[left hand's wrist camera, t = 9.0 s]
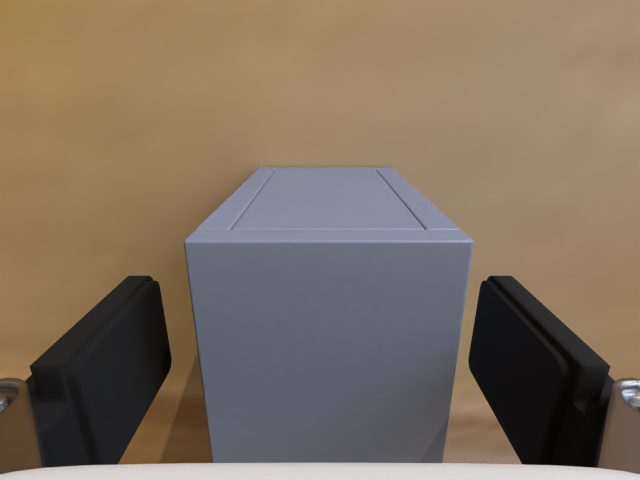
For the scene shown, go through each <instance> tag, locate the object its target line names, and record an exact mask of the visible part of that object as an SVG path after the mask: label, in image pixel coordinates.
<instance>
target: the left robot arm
mask: <svg viewBox="0 0 640 480" xmlns="http://www.w3.org/2000/svg"><path fill="white" fill-rule="evenodd" d="M170 368H171V353H170V347H169V341H168V335H167V329H166V322H165V316H164V310H163V304H162V298H161V292H160V286H159V283H158V282H157V281H153V279H152V277H150V276H128V277H127V278H126V279H124V280H123V281H122V282H121V283H120V284H119V285H118V286H117V287H116V288H115V289H114V290H112V291H111V292H110V293H109V294H108V295H107V296H106V297H105V298H104V299H103V300H102V301H100V302H99V303H98V304H97V305H96V306H95V307H94V308H93V309H92V310H91V311H90V312H88V313H87V314H86V315H85V316H84V317H83V318H82V319H81V320H80V321H79V322H78V323H76V324H75V325H74V326H73V327H72V328H71V329H70V330H69V331H68V332H67V333H65V334H64V335H63V336H62V337H61V338H60V339H59V340H58V341H57V342H56V343H55V344H53V345H52V346H51V347H50V348H49V349H48V350H47V351H46V352H45V353H44V354H43V355H41V356H40V357H39V358H38V359H37V360H36V361H35V362H34V363H33V364H32V365H31V366H30V369H31V372H32V375H31V376H30V377H29V378H28V379H27V380H26V381H23V380H21V379H18V378H4V379H0V480H640V379H636V378H622V379H619V380H617V381H614V380H613V379H612V378H611V377H610V376H609V375H608V372H609V369H610V366H609V365H608V364H607V363H606V362H605V361H604V360H603V359H602V358H601V357H600V356H599V355H597V354H596V353H595V352H594V351H593V350H592V349H591V348H590V347H589V346H588V345H587V344H585V343H584V342H583V341H582V340H581V339H580V338H579V337H578V336H577V335H576V334H575V333H573V332H572V331H571V330H570V329H569V328H568V327H567V326H566V325H565V324H564V323H562V322H561V321H560V320H559V319H558V318H557V317H556V316H555V315H554V314H553V313H552V312H550V311H549V310H548V309H547V308H546V307H545V306H544V305H543V304H542V303H541V302H540V301H538V300H537V299H536V298H535V297H534V296H533V295H532V294H531V293H530V292H529V291H528V290H526V289H525V288H524V287H523V286H522V285H521V284H520V283H519V282H518V281H517V280H516V279H514V278H513V277H512V276H490V277H488V279H487V281H483V282H482V283H481V286H480V292H479V298H478V304H477V310H476V316H475V322H474V329H473V335H472V341H471V347H470V353H469V368H470V371H471V373H472V375H473V376H474V378H475V380H476V382H477V384H478V385H479V387H480V389H481V391H482V392H483V394H484V396H485V398H486V400H487V401H488V403H489V405H490V407H491V409H492V410H493V412H494V414H495V416H496V418H497V419H498V421H499V423H500V425H501V427H502V428H503V430H504V432H505V434H506V436H507V437H508V439H509V441H510V443H511V445H512V446H513V448H514V450H515V452H516V454H517V455H518V457H519V459H520V461H521V463H522V464H523V465H516V464H467V463H173V464H124V465H117V464H118V463H119V461H120V459H121V457H122V455H123V454H124V452H125V450H126V448H127V446H128V445H129V443H130V441H131V439H132V437H133V436H134V434H135V432H136V430H137V428H138V427H139V425H140V423H141V421H142V419H143V418H144V416H145V414H146V412H147V410H148V409H149V407H150V405H151V403H152V401H153V400H154V398H155V396H156V394H157V392H158V391H159V389H160V387H161V385H162V384H163V382H164V380H165V378H166V376H167V375H168V373H169V371H170Z"/></svg>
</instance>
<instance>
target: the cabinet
mask: <svg viewBox="0 0 640 480" xmlns="http://www.w3.org/2000/svg"><path fill="white" fill-rule="evenodd" d="M184 248H185V256H186V263H187V271H188V279H189V286H190V294H191V302H192V309H193V317H194V325H195V333H196V340H197V348H198V356H199V363H200V371H201V379H202V386H203V394H204V402H205V409H206V417H207V425H208V432H209V440H210V448H211V456H212V463H442V461H443V454H444V447H445V440H446V433H447V425H448V418H449V411H450V404H451V397H452V390H453V383H454V376H455V369H456V362H457V355H458V348H459V340H460V333H461V326H462V319H463V312H464V305H465V298H466V291H467V284H468V277H469V270H470V262H471V255H472V248H473V240H472V239H471V238H469V237H468V236H467V235H466V234H465V233H464V232H463V231H461V230H460V228H459V227H457V226H456V225H455V224H454V223H453V222H452V221H451V220H450V219H448V218H447V217H446V216H445V215H444V214H443V213H442V212H441V211H439V210H438V209H437V208H436V207H435V206H434V205H433V204H432V203H431V202H429V201H428V200H427V199H426V198H425V197H424V196H423V195H422V194H420V193H419V192H418V191H417V190H416V189H415V188H414V187H413V186H411V185H410V184H409V183H408V182H407V181H406V180H405V179H404V178H403V177H401V176H400V175H399V174H398V173H397V172H396V171H395V170H394V169H393V168H391V167H260V168H258V169H257V170H256V171H255V172H254V173H253V174H252V175H251V176H250V177H249V178H248V179H247V180H246V181H245V182H244V183H243V184H242V185H241V186H240V187H239V188H238V189H237V190H236V191H235V192H234V193H233V194H232V195H230V196H229V197H228V198H227V199H226V200H225V201H224V202H223V203H222V204H221V205H220V206H219V207H218V208H217V209H216V210H215V211H214V212H213V213H212V214H211V215H210V216H209V217H208V218H207V219H206V220H205V221H204V222H203V223H201V224H200V225H199V226H198V227H197V228H196V230H195V231H194V232H193V233H192V234H190V235H189V236H188V237H187V238H186V239H185V240H184Z"/></svg>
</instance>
